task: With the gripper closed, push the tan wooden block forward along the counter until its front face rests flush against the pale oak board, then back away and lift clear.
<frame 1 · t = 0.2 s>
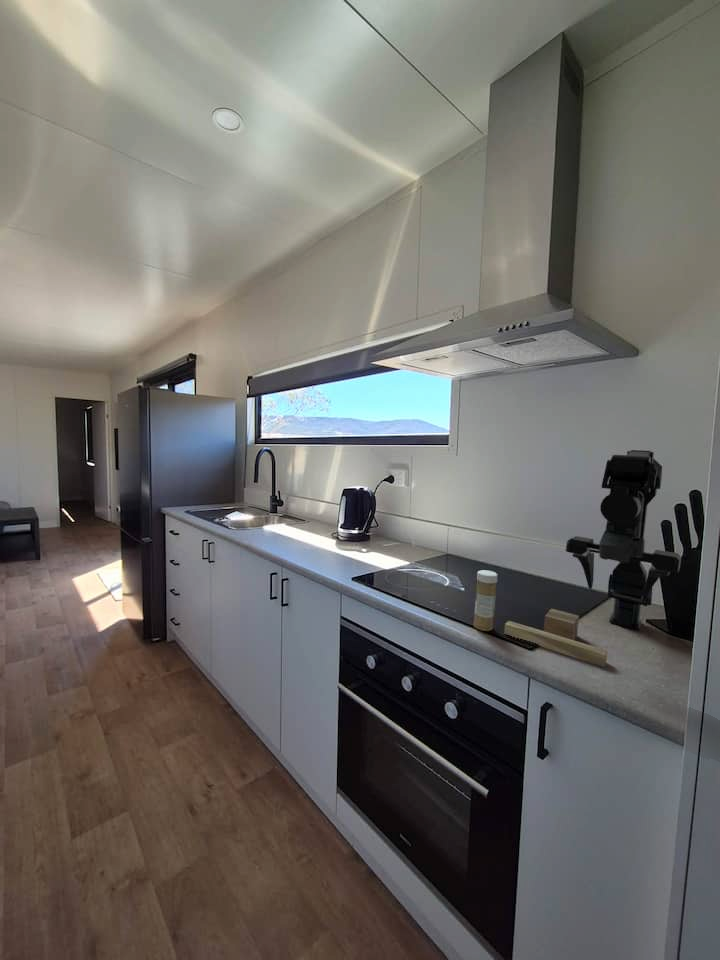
hand: (616, 594, 81), 14 cm above the table, tool pointing down, fingers open, 9 cm apart
tan wooden block: (560, 636, 93), on the table
sprinkles bottle: (482, 628, 96), on the table
oak board: (552, 647, 87), on the table
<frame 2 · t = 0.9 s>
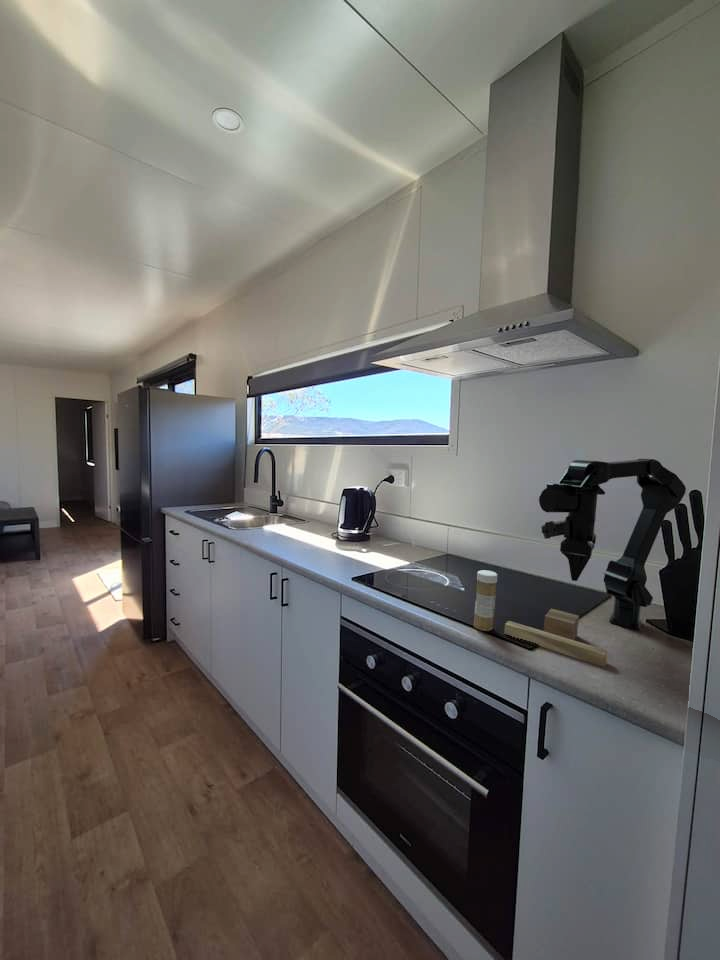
hand: (576, 575, 98), 13 cm above the table, tool pointing down, fingers open, 9 cm apart
nothing on the table moved.
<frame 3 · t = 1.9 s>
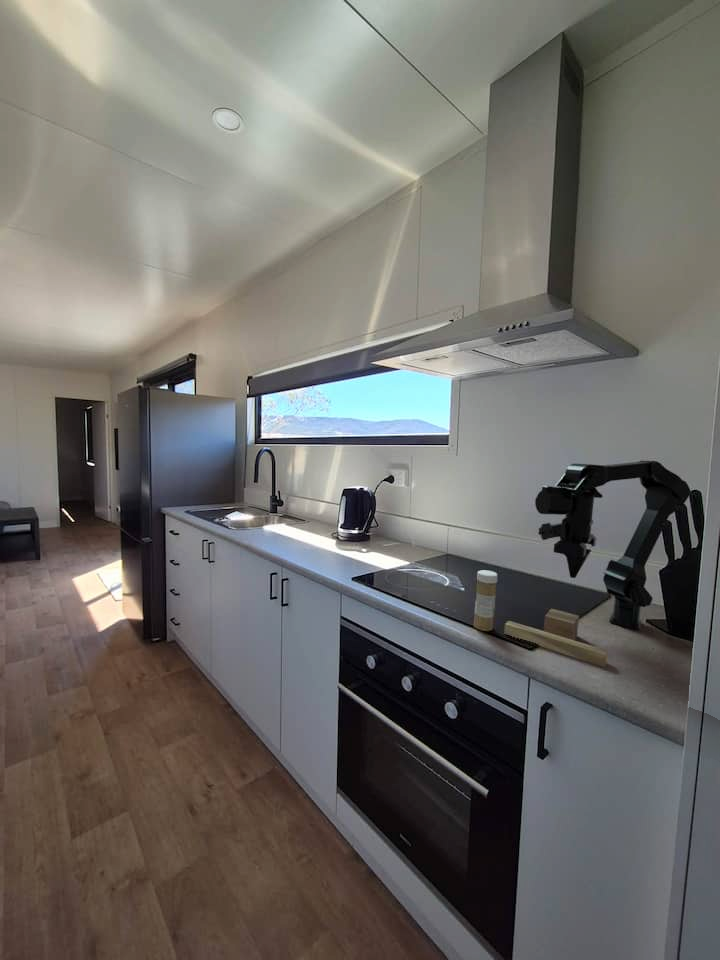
hand: (572, 577, 99), 12 cm above the table, tool pointing down, fingers closed
nothing on the table moved.
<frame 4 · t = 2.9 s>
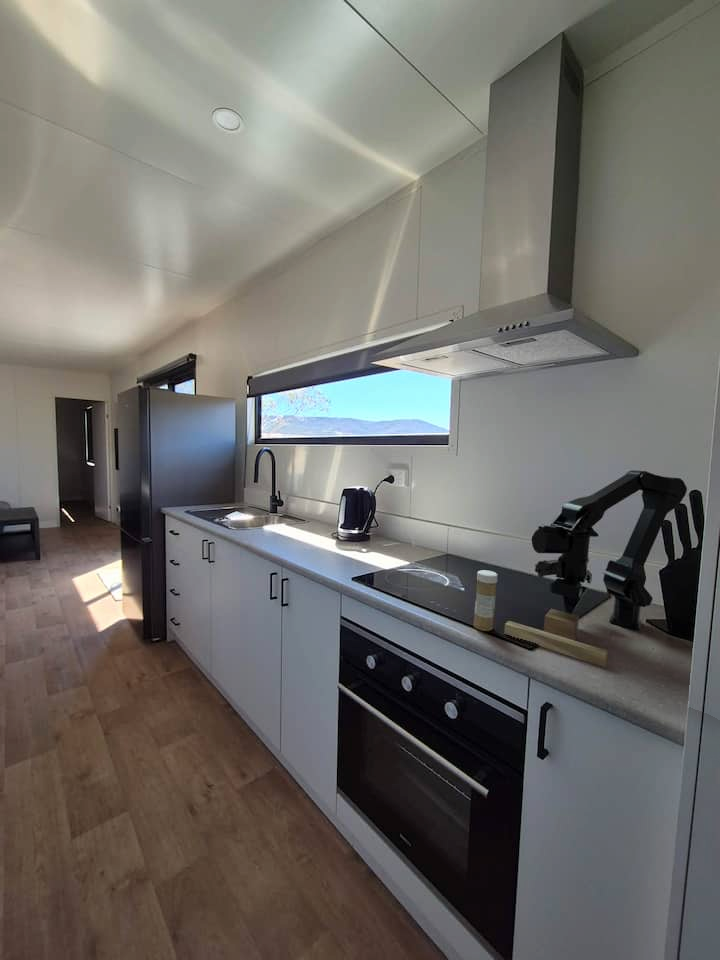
hand: (568, 614, 100), 3 cm above the table, tool pointing down, fingers closed
nothing on the table moved.
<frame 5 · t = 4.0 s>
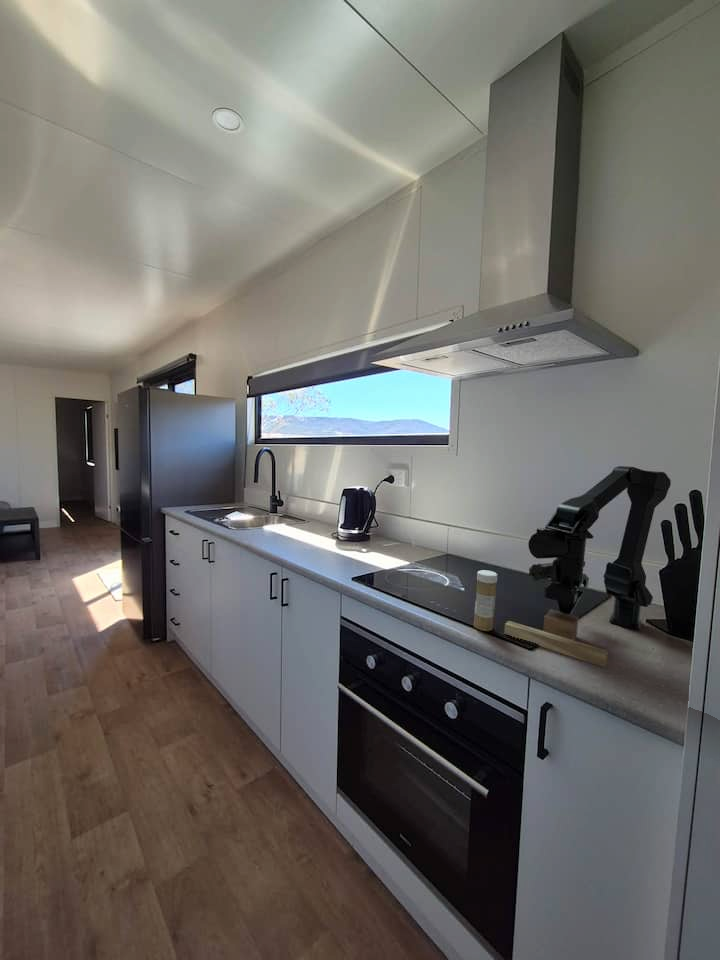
hand: (563, 620, 96), 3 cm above the table, tool pointing down, fingers closed
tan wooden block: (559, 637, 92), on the table, touching gripper
everything else where it was.
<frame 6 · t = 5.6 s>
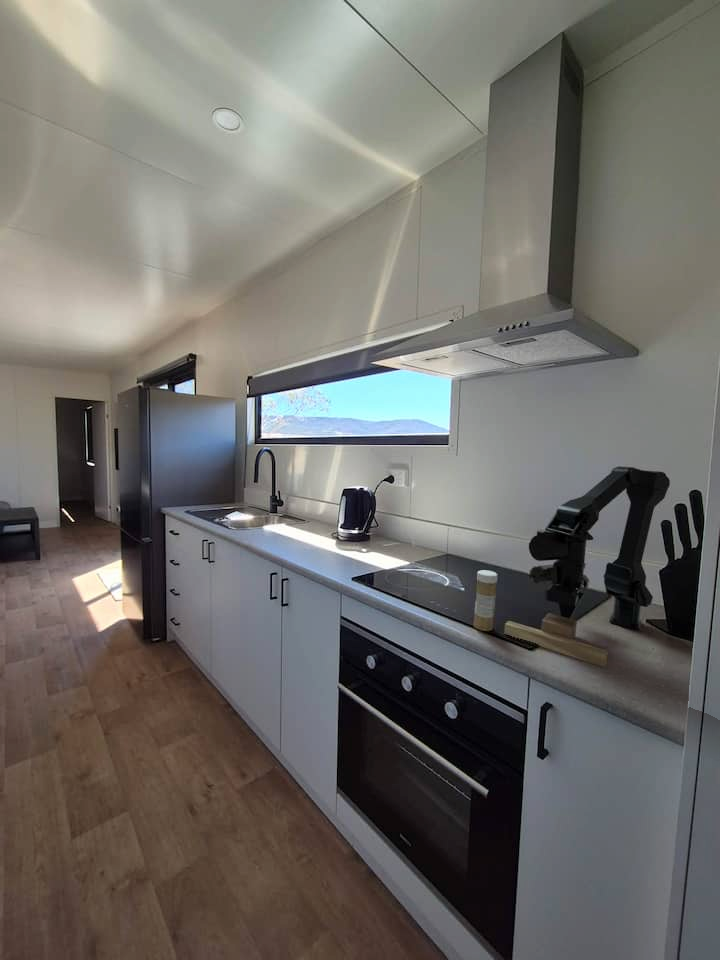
hand: (564, 622, 96), 2 cm above the table, tool pointing down, fingers closed
tan wooden block: (557, 641, 91), on the table
everything else where it was.
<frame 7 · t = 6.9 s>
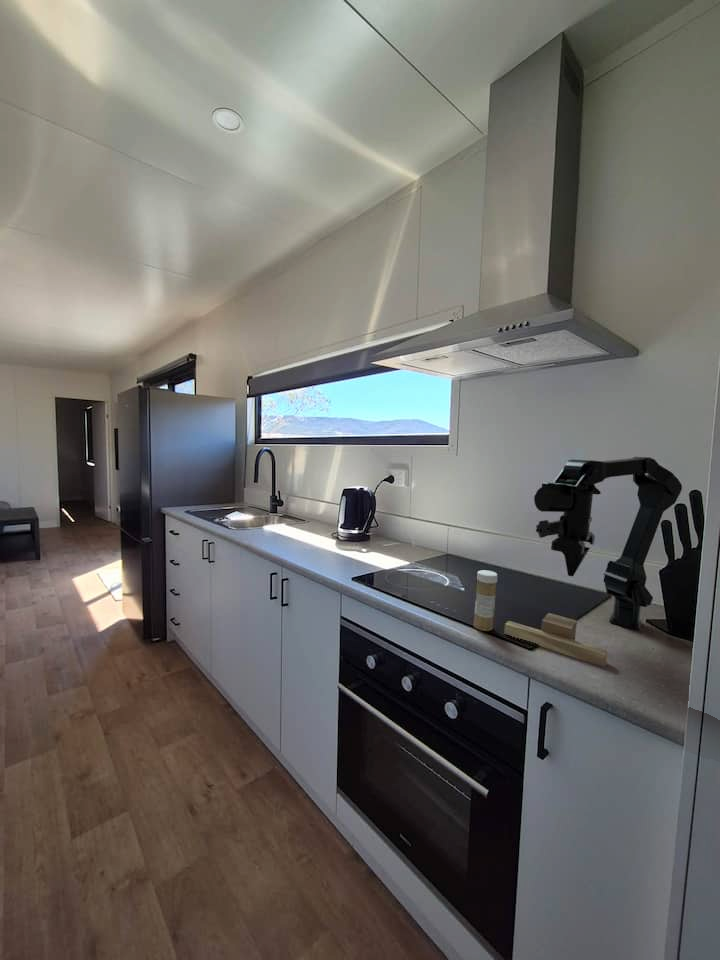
hand: (570, 575, 97), 13 cm above the table, tool pointing down, fingers closed
nothing on the table moved.
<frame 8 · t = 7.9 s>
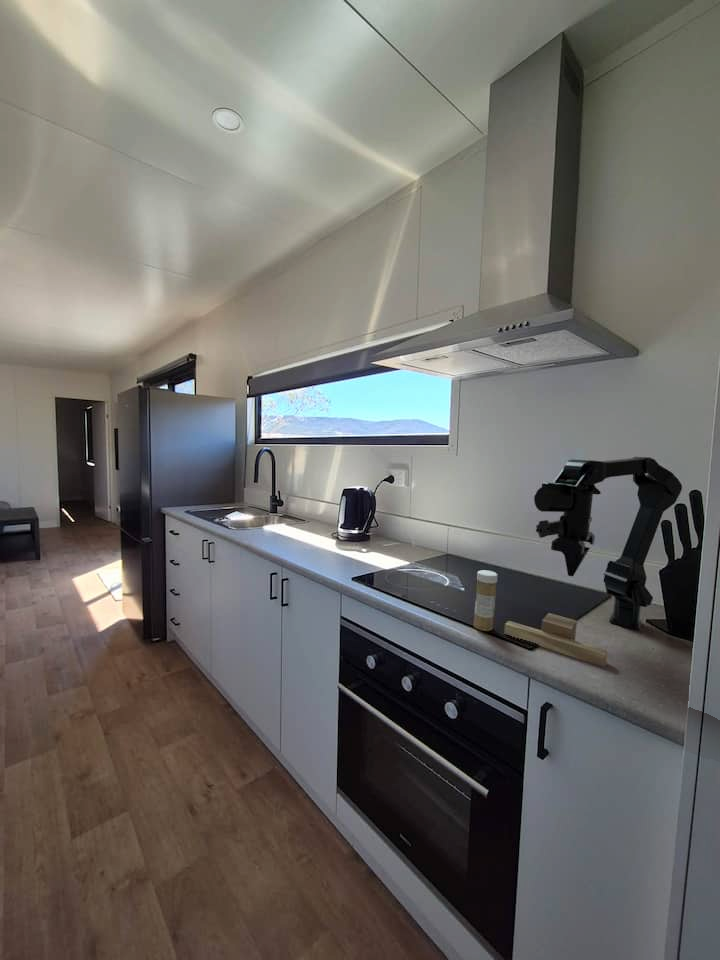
hand: (570, 575, 97), 13 cm above the table, tool pointing down, fingers closed
nothing on the table moved.
at the end: tan wooden block 0.4 cm from the target spot on the table beside the oak board, on the table; tan wooden block tilted 0° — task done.
